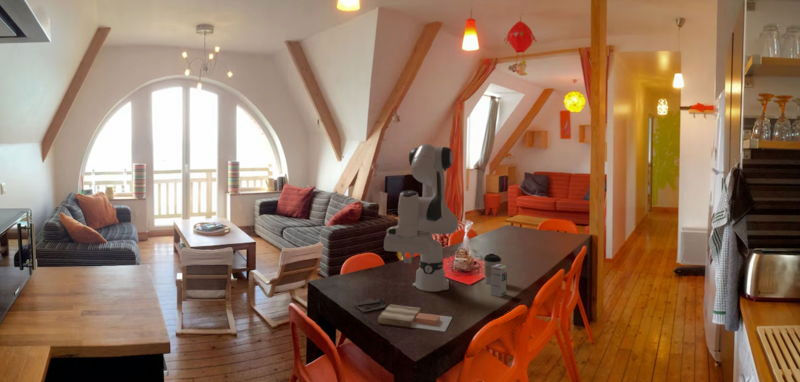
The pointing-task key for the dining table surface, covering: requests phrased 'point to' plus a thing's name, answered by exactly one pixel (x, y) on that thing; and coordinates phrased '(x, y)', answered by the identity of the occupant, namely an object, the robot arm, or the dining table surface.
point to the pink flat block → (427, 319)
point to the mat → (440, 326)
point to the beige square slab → (399, 315)
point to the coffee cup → (488, 263)
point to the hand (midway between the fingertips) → (407, 262)
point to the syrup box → (498, 280)
